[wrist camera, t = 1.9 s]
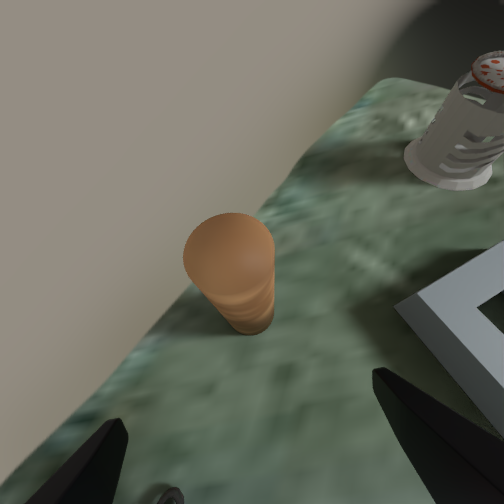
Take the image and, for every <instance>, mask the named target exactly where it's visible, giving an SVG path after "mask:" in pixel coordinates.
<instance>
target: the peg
mask: <svg viewBox="0 0 504 504" xmlns="http://www.w3.org/2000/svg"><path fill="white" fill-rule="evenodd" d="M274 257H275V249H274V242H273V238H272V236H271V234H270V232H269V230H268V229H267V228H266V226H265V225H263V224H262V223H261V222H260V221H259V220H257V219H255V218H254V217H251V216H249V215H245V214H241V213H225V214H220V215H217V216H214V217H211V218H209V219H207V220H206V221H204V222H203V223H201V224H200V225H199V226H198V227H197V228H196V229H195V230H194V231H193V232H192V233H191V235H190V236H189V238H188V240H187V242H186V244H185V248H184V253H183V262H184V267H185V270H186V272H187V274H188V276H189V277H190V279H191V280H192V281H193V283H194V284H195V285H196V286H197V287H198V288H199V289H200V290H201V292H202V293H203V294H204V295H205V296H206V297H207V298H208V299H209V301H210V302H211V303H212V304H213V305H214V306H215V307H216V308H217V310H218V311H219V312H220V313H221V314H222V315H223V316H224V318H225V319H226V320H227V321H228V322H229V323H230V324H231V325H232V327H233V328H234V329H235V330H237V331H238V332H240V333H242V334H244V335H257V334H259V333H262V332H263V331H265V330H266V329H267V328H268V327H269V325H270V324H271V322H272V320H273V316H274Z"/></svg>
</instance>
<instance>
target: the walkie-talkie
mask: <svg viewBox="0 0 504 504" xmlns="http://www.w3.org/2000/svg"><path fill="white" fill-rule="evenodd" d="M170 497H172V498H174V500H175V502H176V504H184V496H183V494H182V492H181V491H180V489H179V488H177V487H172V488H170V489H168V490H167V491H166V492H165V493H164V495H163V496H162V497H161V498H160V499H159V501H158V503H157V504H164V503H165V501H166V500H167V499H168V498H170Z"/></svg>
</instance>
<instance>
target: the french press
mask: <svg viewBox="0 0 504 504" xmlns="http://www.w3.org/2000/svg"><path fill="white" fill-rule="evenodd" d="M471 70H472V71H470V72H467V73H465V74H463V75H462V76H461V77H460V78H459V79H458V80H457V82H456V84H455V85H454V87H453V88H452V90H451V91H450V93H449V94H448V96H447V98H446V99H445V101H444V102H443V104H442V107H441V108H440V109H439V111H440V110H441V109H442V108H443V110H442V111H440V112H439V111H438V112H437V114H436V115H435V118H434V119H433V120H432V122H433V121H434V120H435V119H436V120H435V121H434V122H433V123H432V122H431V123H430V125H429V126H428V129H427V130H429V131H427V130H426V131H427V132H426V131H425V132H426V133H425V132H424V134H423V136H422V137H420V138H417V139H415V140H412V141H411V142H410V143H409V144H408V146H407V147H406V148H405V151H404V161H405V163H406V165H407V167H408V169H409V170H410V171H411V172H412V173H413V174H414V175H416V176H417V177H418V178H419V179H420V180H422V181H424V182H426V183H429V184H431V185H433V186H435V187H438V188H443V189H448V190H454V191H459V190H472V189H475V188H477V187H479V186H481V185H483V184H486V182H487V181H488V179H489V178H490V176H491V175H492V165H491V164H492V163H493V162H494V161H495V160H496V159H497V158H498V157H499V156H500V155H501V154H502V153H503V152H504V51H497V52H496V51H495V52H491V53H487V54H484V55H483V56H480V57H478V58H477V59H476V60H475V61H474V62H473V63H472V66H471ZM474 80H476V81H477V82H478V83H479V84H480V85H482V86H484V87H485V88H481V87H477V86H471V87H468V88H464V89H461V90H460V91H459V89H458V88H459V87H461V86H462V85H463V84H465V83H468V82H471V81H474ZM486 88H487V89H489V90H491V91H493V93H491V92H490V91H488V90H487V89H486ZM466 93H474V94H478V95H481V96H482V97H483V98H485V99H486V100H487V101H486V102H485V103H484V104H483V105H482V104H480V103H479V102H477V101H475V100H471V99H467V98H464V97H463V94H466ZM487 136H495V137H494V138H493V139H492V140H491V141H490V142H482V141H483V140H484V139H485V138H486V137H487ZM501 152H502V153H501Z"/></svg>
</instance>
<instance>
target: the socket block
mask: <svg viewBox="0 0 504 504" xmlns="http://www.w3.org/2000/svg"><path fill="white" fill-rule="evenodd" d="M500 292H502V293H503V294H504V240H502V241H501V242H499V243H497V244H496V245H494V246H492V247H490V248H489V249H487V250H485V251H484V252H482V253H480V254H479V255H477V256H475V257H474V258H472V259H470V260H469V261H467V262H465V263H464V264H462V265H460V266H459V267H457V268H456V269H454V270H452V271H451V272H449V273H447V274H446V275H444V276H442V277H441V278H439V279H437V280H436V281H434V282H432V283H431V284H429V285H427V286H426V287H424V288H422V289H421V290H419V291H417V292H416V293H414V294H413V295H411V296H409V297H408V298H406V299H404V300H403V301H401V302H399V303H398V304H396V305H394V306H393V307H394V308H395V309H396V310H397V312H398V313H399V314H400V315H401V316H402V318H403V319H404V320H405V321H406V322H407V324H408V325H409V326H410V327H411V328H412V330H413V331H414V332H415V333H416V334H417V336H418V337H419V338H420V339H421V340H422V342H423V343H424V344H425V345H426V346H427V348H428V349H429V350H430V351H431V352H432V353H433V355H434V356H435V357H436V358H437V359H438V361H439V362H440V363H441V364H442V365H443V367H444V368H445V369H446V370H447V371H448V373H449V374H450V375H451V376H452V377H453V379H454V380H455V381H456V382H457V383H458V385H459V386H460V387H461V388H462V389H463V391H464V392H465V393H466V394H467V395H468V397H469V398H470V399H471V400H472V401H473V403H474V404H475V405H476V406H477V407H478V408H479V410H480V411H481V412H482V413H483V414H484V416H485V417H486V418H487V419H488V420H489V422H490V423H491V424H492V425H493V426H494V428H495V429H496V430H497V431H498V432H499V434H500V435H501V436H502V437H503V438H504V334H503V333H502V332H501V331H500V330H499V329H498V328H497V327H496V326H495V325H494V324H493V323H492V322H491V321H490V320H489V319H488V318H487V317H485V316H484V315H483V314H482V313H481V312H480V311H479V310H478V309H477V308H476V307H478V306H480V305H481V304H483V303H484V302H486V301H487V300H489V299H490V298H492V297H493V296H495V295H496V294H498V293H500Z"/></svg>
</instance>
